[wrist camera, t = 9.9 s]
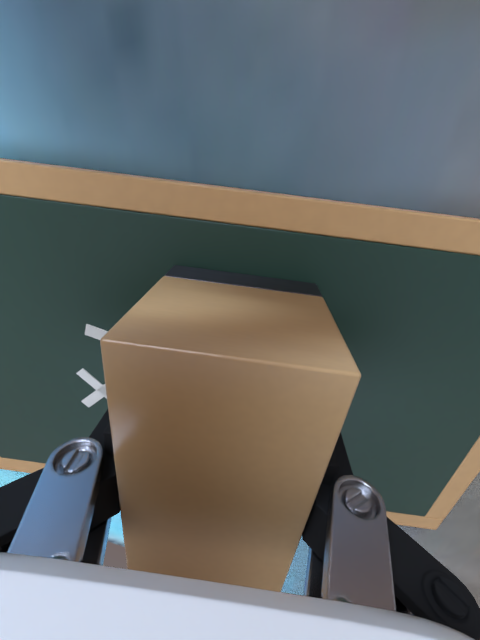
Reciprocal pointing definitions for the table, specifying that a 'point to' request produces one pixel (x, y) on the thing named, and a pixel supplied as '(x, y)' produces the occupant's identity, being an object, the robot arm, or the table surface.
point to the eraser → (223, 422)
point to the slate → (253, 259)
